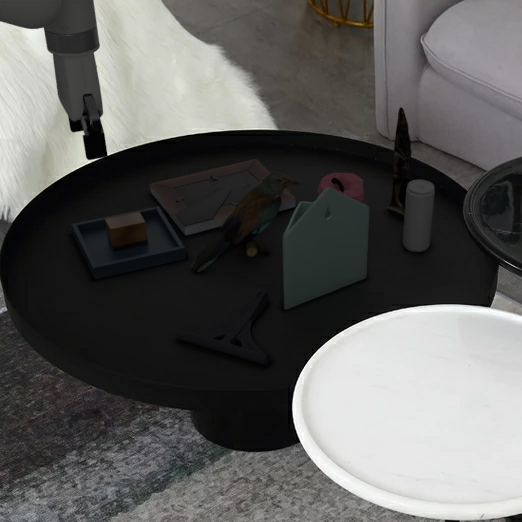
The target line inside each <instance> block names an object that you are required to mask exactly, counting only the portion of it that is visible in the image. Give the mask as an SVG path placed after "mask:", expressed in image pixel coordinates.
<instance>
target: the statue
mask: <svg viewBox="0 0 522 522" xmlns="http://www.w3.org/2000/svg"><path fill="white" fill-rule="evenodd" d="M409 130H410V129H409V123H408V119H407V116H406V113H405V110H404V108H403V107H402V106H401V107H399V109H398V113H397V122H396V129H395V137H394V145H393V146H394V147H393V164H392V167H393V169H392V185H391V186H392V189H391V199H390V203H389V204H388V205H387V206H386V211H387V212H388V213H390V214H393V215H395V216H397V217H399V218H401V219H403V220H404V215H405V202H406V189H407V187H408V183H409V182H411V181H413V179H412V171H411V165H412V154H413V153H412V149H411V147H412V141H411V137H410V134H409Z"/></svg>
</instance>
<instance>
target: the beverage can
mask: <svg viewBox="0 0 522 522" xmlns="http://www.w3.org/2000/svg"><path fill="white" fill-rule="evenodd" d="M435 192H436V190H435V185H434V184H433V183H432V182H431V181H429V180H426V179H412V181H411V182H409V183H408V187H407V189H406V202H405V215H404V219H403V229H402V230H403V232H402V245H403V247H404V248H405V249H406V250H407V251H409V252H411V253H423V252H425V251H426V250H427V249H429V247H430V245H431V236H432V235H431V234H432V226H433V225H432V223H433V215H434V214H433V213H434V205H435V195H436V194H435Z"/></svg>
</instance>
